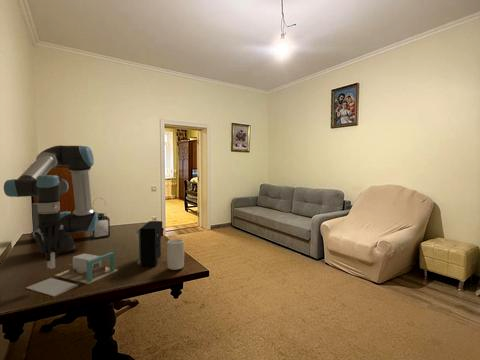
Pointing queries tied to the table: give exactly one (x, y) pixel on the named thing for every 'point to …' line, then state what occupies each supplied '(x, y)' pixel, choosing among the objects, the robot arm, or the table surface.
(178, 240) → the white can
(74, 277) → the clamp base
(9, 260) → the table surface
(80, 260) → the white brown box
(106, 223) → the lantern
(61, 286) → the mat
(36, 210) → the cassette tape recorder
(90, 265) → the teal arch
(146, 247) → the electrical component
